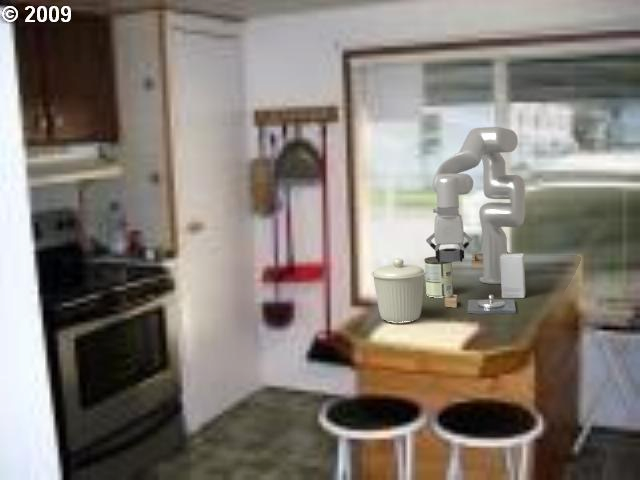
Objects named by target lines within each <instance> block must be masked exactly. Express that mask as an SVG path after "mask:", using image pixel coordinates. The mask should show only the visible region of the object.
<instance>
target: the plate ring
mask: <svg viewBox="0 0 640 480" xmlns="http://www.w3.org/2000/svg"><path fill="white" fill-rule="evenodd" d="M439 258H440V261H442V262H452V263H454V262H461V261H460V248H453V247H452V248H450V247H449V248H448V247H447V248H441V249H439Z"/></svg>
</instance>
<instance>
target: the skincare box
mask: <svg viewBox="0 0 640 480" xmlns="http://www.w3.org/2000/svg"><path fill="white" fill-rule="evenodd" d="M500 268H501V284H500V285H501V286H500V287H501V299H524V298H525V296H526V275H525V274H526V273H525V272H526V271H525V253H516V254H502V255H501V256H500Z"/></svg>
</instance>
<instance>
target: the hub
mask: <svg viewBox="0 0 640 480" xmlns="http://www.w3.org/2000/svg"><path fill="white" fill-rule="evenodd" d="M468 313H475V314H474V315H476V314H477V313H478V314H479V315H480V314H485V315H487V314H488V315H489V314H491V315H492V314H495V315H496V314H505V315H506V314H509V315H510V314H511V315H512V314H517V309H516V303H515V298H510V299H496V298H495V299H494V294H488V299H468V300H467V314H468ZM478 314H477V315H478Z"/></svg>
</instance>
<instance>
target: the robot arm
mask: <svg viewBox="0 0 640 480" xmlns="http://www.w3.org/2000/svg"><path fill="white" fill-rule="evenodd" d="M518 141H519V140H518V136H517V133H516V132H515V131H514V130H512V129H509V128H504V127H500V126H491V127H490V126H489V127H487V126H486V127H483V126H482V127H475V128H472V129H471V130H469V132H468V134H467V135H466V138H465V140H464V141H463V143H462V146H461V148H460V149H459V151H458V152H457V153H455V154H454V155H452V156H450V157H449V158H448V159H446V160H445V161H443V162H442V163H441V164H440V165H439V166H438V168H437V170H436V172H435V174H434V177H433V180H432V189H433V191H434V192H435V193H436V208H433V209H432V210H433V211H432V212H433V213H435V214H436V215H435V217H434V226H433V227H434V233H432V234H431V235H430V236H428V237H427V238H426V240H425V241H426V243H427V244H428V245H429V246H430V247H431V248H432V249H433V250H434V251H435V256H436V260H437V259H438V262H440V258H439V250H440V247H441V245H443V246H444V245H458V247H459V249H460V261H459V262H461V263H462V262H463V260H465V250H466V248H467V247H468V246H470V244H471V243H472V242H473V240H474V238H473V236H471V235H470V234H468V232H467V233H466V232H465V229H464V222H463V218H462V214H460V201H459V200H460V198H459V196H461V195H464V196H465V195H468V194H469V193H471V191H472V190H473V187H474V179H473V177H472V176H471V175H469V174H468V173H463V172H467V171H469V170H472V169H474V168H476V167H477V166H479V165H480V163H481V161H482V166H483V167H482V168H483V177H482V179H483V181H482V183H483V184H482V185H483V189H482V190H483V194H484V196H485V198H487V199H493V200H509V201H510V202H501V201H500V202H499V201H498V202H493V201H491V202H486V203H484V204H482V205H481V206H480V209H479V212H478V214H479V215H478V216H479V220H480V227H481V234H482V235H481V237H482V243H481V244H482V253H483V260H482V261H483V269H482V270H483V271H482V274H483V275H482V276H481V277H479V280H478V281H479V282H480V283H483V284H488V285H489V284H490V285H497V284H498V285H501V268H500V256H501V255H502V254H507V252H508V240H507V239H508V237H507V235H506V233H505V231H504V229H503V228H520V227H521V226H522V225H523V224H524V222H525V221H524V220H525V214H526V213H525V212H526V209H525V205H526V203H525V202H526V194H525V193H526V187H525V182H524V179H523V177H521V175H518V174H507V173H506V161H505V159H504V157H503V155H502V153H513V152H514V151H515V150H516V149H517V146H518V144H519V143H518ZM433 239H434V242H433ZM465 239H467V240H466V242H465V243H464V240H465Z"/></svg>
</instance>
